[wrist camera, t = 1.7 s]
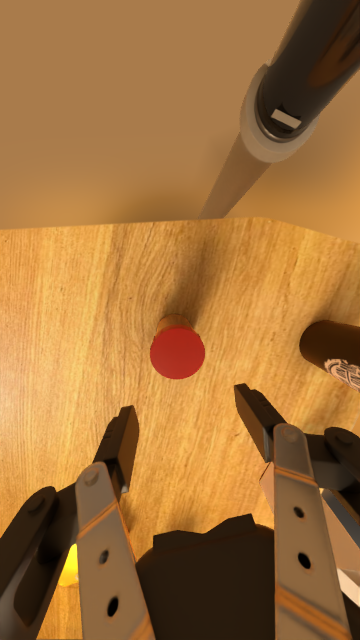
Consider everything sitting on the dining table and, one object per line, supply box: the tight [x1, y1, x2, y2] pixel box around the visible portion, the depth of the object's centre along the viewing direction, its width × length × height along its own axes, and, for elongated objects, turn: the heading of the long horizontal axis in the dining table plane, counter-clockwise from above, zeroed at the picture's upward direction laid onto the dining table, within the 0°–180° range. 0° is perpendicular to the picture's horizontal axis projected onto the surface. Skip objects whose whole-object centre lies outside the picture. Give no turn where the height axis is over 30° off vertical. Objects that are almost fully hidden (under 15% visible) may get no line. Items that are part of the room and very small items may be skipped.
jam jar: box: [156, 314, 193, 334], centre depth 25 cm, size 6×6×10 cm
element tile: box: [58, 529, 129, 586], centre depth 36 cm, size 15×15×5 cm
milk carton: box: [259, 462, 360, 607], centre depth 30 cm, size 7×7×19 cm
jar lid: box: [150, 324, 205, 379], centre depth 21 cm, size 6×6×2 cm
